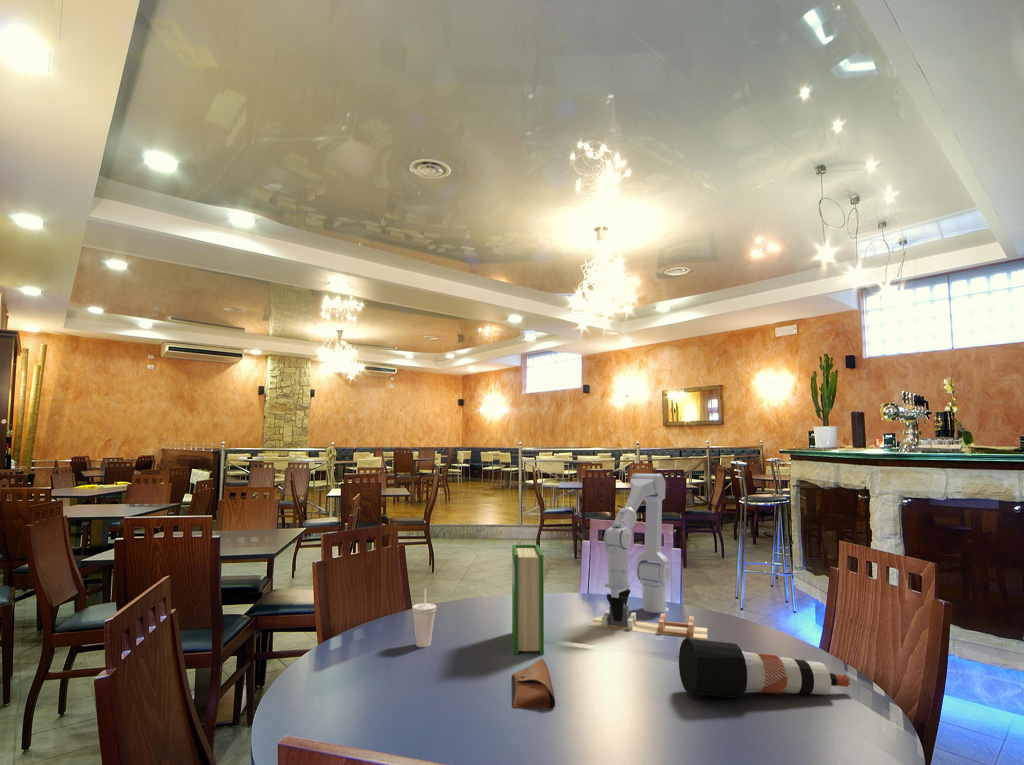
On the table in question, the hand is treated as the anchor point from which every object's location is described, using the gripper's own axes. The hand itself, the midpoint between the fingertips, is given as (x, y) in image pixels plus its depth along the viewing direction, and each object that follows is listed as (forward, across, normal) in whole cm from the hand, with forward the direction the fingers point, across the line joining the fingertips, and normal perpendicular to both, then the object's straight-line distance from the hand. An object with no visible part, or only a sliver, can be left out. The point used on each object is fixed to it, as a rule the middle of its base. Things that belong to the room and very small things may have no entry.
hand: (619, 618), depth 157 cm
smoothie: (+3, +33, -46) cm, 57 cm away
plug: (+2, 0, 0) cm, 2 cm away
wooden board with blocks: (+3, 0, +8) cm, 8 cm away
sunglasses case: (+3, +50, -11) cm, 51 cm away
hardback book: (+3, +22, -21) cm, 31 cm away
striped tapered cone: (+3, +35, +36) cm, 50 cm away
